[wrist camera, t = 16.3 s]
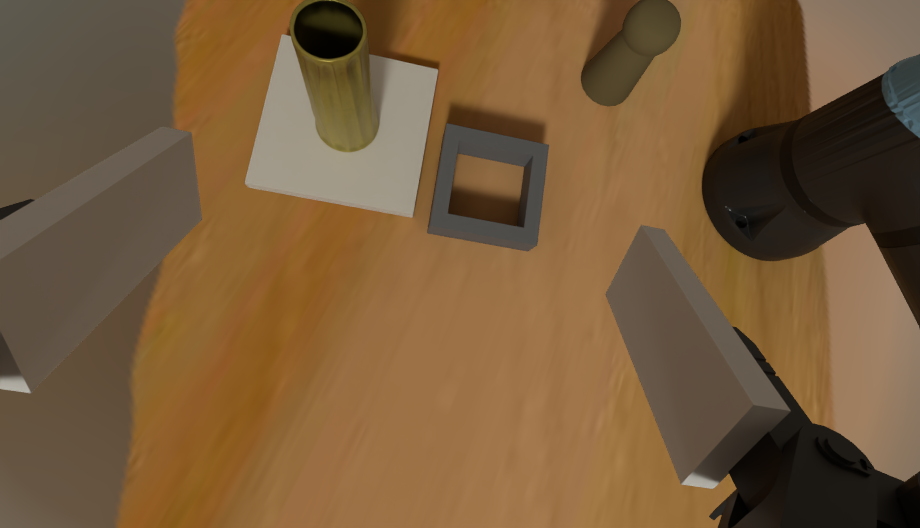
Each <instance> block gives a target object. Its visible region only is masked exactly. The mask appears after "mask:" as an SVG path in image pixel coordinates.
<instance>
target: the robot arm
mask: <svg viewBox="0 0 920 528" xmlns="http://www.w3.org/2000/svg"><path fill="white" fill-rule="evenodd" d="M703 198H704V203H705V207H706V210H707V213H708V215H709V217H710V219H711V221H712V223H713V225H714V227H715V228H716V230H717V231H718V232H719V234H720V235H721V236H722V237H723V238H724V239H725V240H726V241H727V242H728V243H729V244H730V245H731V246H732V247H734V248H735V249H736V250H738V251H739V252H741V253H743V254H745V255H747V256H749V257H752V258H755V259H759V260H764V261H780V260H785V259H790V258H794V257H799V256H802V255H804V254H807V253H809V252H811V251H813V250H815V249H816V248H818V247H819V246H820V245H822V244H824V243H825V242H827V241H828V240H830V239H832V238H833V237H835V236H837V235H838V234H840V233H841V232H843V231H844V230H846V229H847V228H849V227H852V226H856V225H860V224H864V223H866V225H867V227H868V228H869V230H870V232H871V234H872V236H873V238H874V239H875V241H876V243H877V245H878V247H879V249H880V251H881V253H882V255H883V257H884V259H885V261H886V263H887V265H888V267H889V269H890V270H891V272H892V274H893V276H894V278H895V280H896V282H897V284H898V286H899V288H900V290H901V292H902V294H903V296H904V298H905V300H906V302H907V304H908V305H909V307H910V309H911V311H912V313H913V315H914V317H915V319H916V321H917V323H918V325H919V328H920V54H919V55H917V56H913V57H909V58H906V59H904V60H902V61H899V62H898V63H896V64H895V65H893V66H891V67H890V68H889V70H888V71H887V72H886V73H884V74H882V75H880V76H879V77H877V78H875V79H873V80H871V81H869V82H868V83H866V84H864V85H862V86H860V87H858V88H856V89H855V90H853V91H851V92H849V93H847V94H845V95H843V96H841V97H840V98H838V99H836V100H834V101H832V102H830V103H828V104H827V105H824V106H823V107H821V108H819V109H817V110H815V111H813V112H811V113H810V114H808V115H806V116H804V117H802V118H800V119H799V120H795V121H790V122H785V123H779V124H774V125H769V126H763V127H758V128H753V129H750V130H747V131H745V132H742V133H740V134H738V135H737V136H735V137H733V138H732V139H730V140H728V141H727V142H725V143H723V144H722V145H721V146H720V147H719V148H718V149H717V150H716V151H715V152H714V153H713V154H712V156H711V158H710V159H709V161H708V163H707V166H706V169H705V172H704V177H703ZM201 220H202V215H201V207H200V198H199V190H198V182H197V174H196V166H195V158H194V149H193V141H192V133H191V132H186V131H182V130H177V129H172V128H167V127H160V128H159V129H157V130H155V131H153V132H152V133H150V134H148V135H146V136H145V137H143V138H141V139H140V140H138V141H136V142H135V143H133V144H131V145H129V146H128V147H126V148H124V149H123V150H121V151H119V152H117V153H115V154H114V155H112V156H110V157H109V158H107V159H105V160H104V161H102V162H100V163H98V164H96V165H95V166H93V167H92V168H90V169H88V170H86V171H84V172H83V173H81V174H79V175H78V176H76V177H74V178H72V179H71V180H69V181H67V182H65V183H64V184H62V185H60V186H59V187H57V188H55V189H54V190H52V191H50V192H48V193H47V194H45V195H43V196H41V197H40V198H38V199H36V200H32V199H30V200H26V201H23V202H19V203H16V204H13V205H10V206H6V207H3V208H0V389H5V390H13V391H20V392H27V393H32V391H34V389H36V387H37V386H38V385H39V384H40V383H41V382H42V381H43V380H44V379H45V378H46V377H47V376H48V375H49V374H50V373H51V372H52V371H53V370H54V369H55V368H56V367H57V366H58V365H59V364H60V363H61V362H62V361H63V360H64V359H65V358H66V357H67V356H68V355H69V354H70V353H71V352H72V351H73V350H74V349H75V348H76V347H77V346H78V344H80V343H81V341H83V340H84V339H85V338H86V337H87V335H89V334H90V333H91V332H92V331H93V329H95V328H96V326H97V325H98V324H99V323H100V322H101V321H102V320H103V319H104V318H105V317H106V316H107V315H108V314H109V313H110V312H111V311H112V310H113V309H114V308H115V307H116V306H117V305H118V304H119V303H120V302H121V301H122V300H123V299H124V298H125V297H126V296H127V295H128V294H129V293H130V292H131V291H132V290H133V289H134V288H135V287H136V286H137V285H138V284H139V283H140V282H141V281H142V280H143V279H144V278H145V277H146V276H147V275H148V274H149V273H150V272H151V270H152V269H153V268H155V266H156V265H157V264H158V263H159V262H160V261H161V260H162V259H163V258H164V257H165V256H166V255H167V254H168V253H169V252H170V251H171V250H172V249H173V248H174V247H175V246H176V245H177V244H178V243H179V242H180V241H181V240H182V239H183V238H184V237H185V236H186V235H187V234H188V233H189V232H190V231H191V230H192V229H193V228H194V227H195V226H196V225H197V224H198V223H199V222H200V221H201ZM606 297H607V299H608V302H609V304H610V307H611V309H612V312H613V314H614V317H615V319H616V322H617V324H618V327H619V329H620V332H621V334H622V337H623V339H624V342H625V345H626V347H627V350H628V352H629V355H630V357H631V360H632V362H633V365H634V367H635V370H636V372H637V375H638V377H639V380H640V382H641V385H642V387H643V390H644V392H645V395H646V397H647V400H648V402H649V405H650V407H651V410H652V412H653V415H654V417H655V420H656V422H657V425H658V427H659V430H660V433H661V435H662V438H663V440H664V443H665V445H666V448H667V450H668V453H669V455H670V458H671V460H672V463H673V465H674V468H675V470H676V473H677V475H678V478H679V480H680V483H681V484H683V485H690V486H697V487H704V488H711V489H714V488H715V487H716V486H717V485H718V484H719V483H720V482H721V481H722V480H723V479H724V478H725V477H726V476H727V475H728V474H730V476H731V478H732V480H733V482H734V484H735V486H736V488H737V489H736V490H735V491H734V492H733V493H732V494H731V495H730V496H729V497H728V498H727V499H726V500H725V501H723V502H722V503H721V504H720V505H719V506H718V507H717V508H716V509H715V510H714V511H713V512H712V513H711V515H710V516H709V517H710V518H711V519H713V520H715V519H716V518H717V517H718V516H719V515H722V517H721V520H720V523H719V525H718V528H920V472H918V473H917V474H915V475H914V476H912V477H911V478H910V479H908V480H907V481H905V482H904V481H901V480H899V479H897V478H894V477H891V476H889V475H887V474H885V473H882V472H880V471H877V470H875V469H874V467H873V466H872V464H871V463H870V461H869V460H868V458H867V457H866V456H865V455H864V454H863V453H862V452H861V451H860V450H859V449H858V448H857V447H856V446H855V445H854V444H853V443H852V442H850V441H849V440H848V439H846V438H845V437H844V436H842V435H841V434H839V433H837V432H835V431H833V430H831V429H829V428H827V427H825V426H821V425H817V424H812V422H811V421H810V419H809V418H808V417H807V415H806V414H805V413H804V411H803V410H802V408H801V407H800V406H799V404H798V403H797V402H796V400H795V399H794V397H793V396H792V395H791V393H790V392H789V390H788V389H787V388H786V386H785V385H784V384H783V382H782V381H781V379H780V378H779V377H778V376H775V374H776V373H775V371H774V370H773V368H772V367H771V366H770V364H769V363H767V362H766V359H765V357H764V356H763V355H762V353H761V352H760V351H759V349H758V348H757V346H756V345H755V344H754V343H753V342H752V341H751V340H750V339H749V338H748V337H747V336H746V335H744V334H743V333H742V332H741V331H740V330H739V329H738V328H737V327H732V326H731V325H730V323H729V322H728V320H727V319H726V317H725V316H724V315H723V313H722V312H721V310H720V309H719V307H718V306H717V304H716V303H715V302H714V300H713V299H712V297H711V296H710V294H709V293H708V292H707V290H706V289H705V287H704V286H703V284H702V283H701V282H700V280H699V279H698V277H697V276H696V274H695V273H694V272H693V270H692V269H691V267H690V266H689V264H688V263H687V262H686V260H685V259H684V257H683V256H682V254H681V253H680V251H679V250H678V249H677V247H676V246H675V244H674V243H673V241H672V240H671V239H670V237H669V236H668V234H667V233H666V231H665V230H663V229H658V228H653V227H648V226H643V225H641V226H640V228H639V230H638V232H637V234H636V236H635V238H634V240H633V242H632V244H631V245H630V247H629V249H628V251H627V253H626V255H625V257H624V259H623V261H622V263H621V265H620V267H619V269H618V271H617V273H616V275H615V277H614V279H613V281H612V283H611V285H610V286H609V288H608V290H607V292H606Z"/></svg>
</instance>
